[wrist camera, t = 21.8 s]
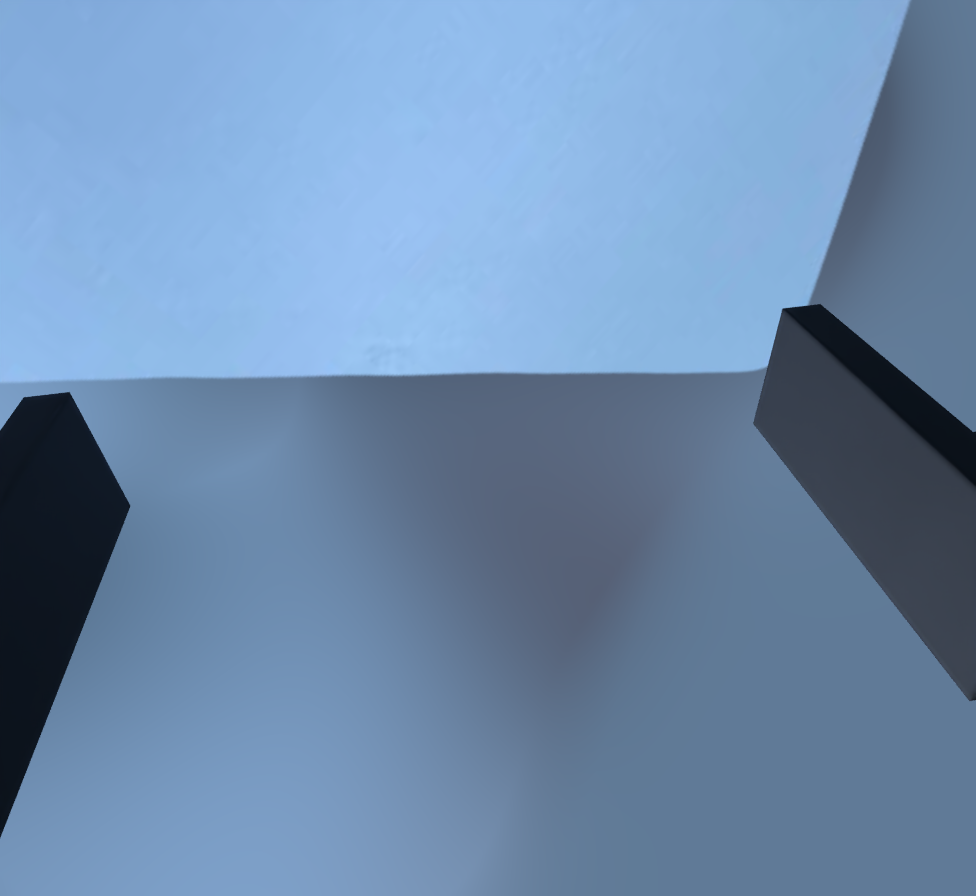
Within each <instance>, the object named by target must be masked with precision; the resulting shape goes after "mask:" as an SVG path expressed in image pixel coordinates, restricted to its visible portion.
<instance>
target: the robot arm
mask: <svg viewBox="0 0 976 896" xmlns="http://www.w3.org/2000/svg"><path fill="white" fill-rule="evenodd" d="M754 425H755V426H756V428H757V429H758V430H759V432H760V433H761V434H762V435H763V437H764V438H765V439H766V441H767V442H768V443H769V444H770V446H771V447H772V448H773V450H774V451H775V452H776V453H777V455H778V456H779V457H780V459H781V460H782V461H783V462H784V464H785V465H786V466H787V468H788V469H789V470H790V471H791V473H792V474H793V475H794V477H795V478H796V479H797V480H798V482H799V483H800V484H801V486H802V487H803V488H804V489H805V491H806V492H807V493H808V494H809V496H810V497H811V498H812V500H813V501H814V502H815V503H816V505H817V506H818V507H819V508H820V510H821V511H822V512H823V514H824V515H825V516H826V518H827V519H828V520H829V521H830V523H831V524H832V525H833V527H834V528H835V529H836V530H837V532H838V533H839V534H840V536H841V537H842V538H843V539H844V541H845V542H846V543H847V545H848V546H849V547H850V548H851V550H852V551H853V552H854V553H855V555H856V556H857V557H858V559H859V560H860V561H861V562H862V564H863V565H864V566H865V567H866V569H867V570H868V572H869V573H870V574H871V575H872V577H873V578H874V579H875V580H876V582H877V583H878V584H879V586H880V587H881V588H882V590H883V591H884V592H885V593H886V595H887V596H888V597H889V599H890V600H891V601H892V602H893V603H894V605H895V606H896V607H897V609H898V610H899V611H900V613H901V614H902V615H903V616H904V618H905V619H906V620H907V622H908V623H909V624H910V625H911V627H912V628H913V629H914V631H915V632H916V633H917V634H918V635H919V637H920V638H921V639H922V641H923V642H924V643H925V645H926V646H927V647H928V649H929V650H930V651H931V652H932V654H933V655H934V656H935V658H936V659H937V660H938V661H939V663H940V664H941V665H942V667H943V668H944V669H945V670H946V671H947V673H948V674H949V675H950V677H951V678H952V679H953V681H954V682H955V683H956V684H957V686H958V687H959V688H960V689H961V691H962V692H963V693H964V695H965V696H966V697H967V698H968V700H969V701H972V700H976V432H972V431H971V430H970V429H969V428H968V427H966V426H965V425H964V424H963V423H962V422H960V421H959V420H958V419H957V418H956V417H954V416H953V415H952V414H951V413H950V412H949V411H947V410H946V409H945V408H944V407H942V406H941V405H940V404H939V403H938V402H936V401H935V400H934V399H933V398H932V397H931V396H929V395H928V394H927V393H926V392H925V391H923V390H922V389H921V388H920V387H919V386H917V385H916V384H915V383H914V382H913V381H911V380H910V379H909V378H908V377H907V376H906V375H904V374H903V373H902V372H901V371H899V370H898V369H897V368H896V367H895V366H893V365H892V364H891V363H890V362H889V361H888V360H886V359H885V358H884V357H883V356H881V355H880V354H879V353H878V352H877V351H876V350H874V349H873V348H872V347H871V346H870V345H868V344H867V343H866V342H865V341H864V340H862V339H861V338H860V337H859V336H858V335H857V334H855V333H854V332H853V331H852V330H850V329H849V328H848V327H847V326H846V325H844V324H843V323H842V322H841V321H840V320H839V319H837V318H836V317H835V316H834V315H833V314H831V313H830V312H829V311H828V310H826V309H825V308H824V307H823V306H822V305H821V304H818V305H810V306H801V307H792V308H784V309H782V313H781V317H780V321H779V325H778V329H777V333H776V337H775V340H774V344H773V348H772V352H771V356H770V360H769V364H768V368H767V372H766V376H765V380H764V384H763V388H762V391H761V395H760V399H759V403H758V408H757V411H756V415H755V419H754ZM129 508H130V504H129V502H128V501H127V499H126V497H125V495H124V493H123V491H122V490H121V488H120V486H119V484H118V482H117V480H116V478H115V476H114V474H113V473H112V471H111V469H110V467H109V465H108V463H107V462H106V459H105V457H104V456H103V454H102V452H101V450H100V448H99V446H98V445H97V443H96V441H95V439H94V437H93V435H92V433H91V431H90V429H89V428H88V426H87V424H86V422H85V420H84V418H83V416H82V414H81V413H80V411H79V409H78V407H77V405H76V403H75V401H74V399H73V398H72V396H71V394H70V392H67V393H58V394H49V395H41V396H32V397H24V398H23V400H22V401H21V402H20V403H19V405H18V406H17V408H16V409H15V411H14V412H13V413H12V415H11V416H10V418H9V419H8V420H7V422H6V423H5V425H4V426H3V428H2V429H1V430H0V837H1V834H2V832H3V829H4V827H5V824H6V822H7V819H8V816H9V814H10V811H11V809H12V806H13V804H14V801H15V799H16V796H17V794H18V791H19V789H20V786H21V783H22V781H23V778H24V776H25V773H26V771H27V768H28V766H29V763H30V761H31V758H32V755H33V753H34V750H35V748H36V745H37V743H38V740H39V737H40V735H41V732H42V730H43V727H44V725H45V722H46V720H47V717H48V715H49V712H50V710H51V707H52V705H53V702H54V699H55V697H56V694H57V692H58V689H59V686H60V684H61V681H62V679H63V676H64V674H65V671H66V669H67V666H68V664H69V661H70V659H71V656H72V654H73V651H74V648H75V646H76V643H77V641H78V638H79V636H80V633H81V631H82V628H83V626H84V623H85V620H86V618H87V615H88V613H89V610H90V608H91V605H92V603H93V600H94V598H95V595H96V592H97V590H98V587H99V585H100V582H101V580H102V577H103V574H104V572H105V569H106V567H107V564H108V562H109V559H110V557H111V554H112V552H113V549H114V547H115V544H116V541H117V539H118V536H119V534H120V531H121V528H122V526H123V524H124V521H125V518H126V516H127V513H128V511H129Z"/></svg>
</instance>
